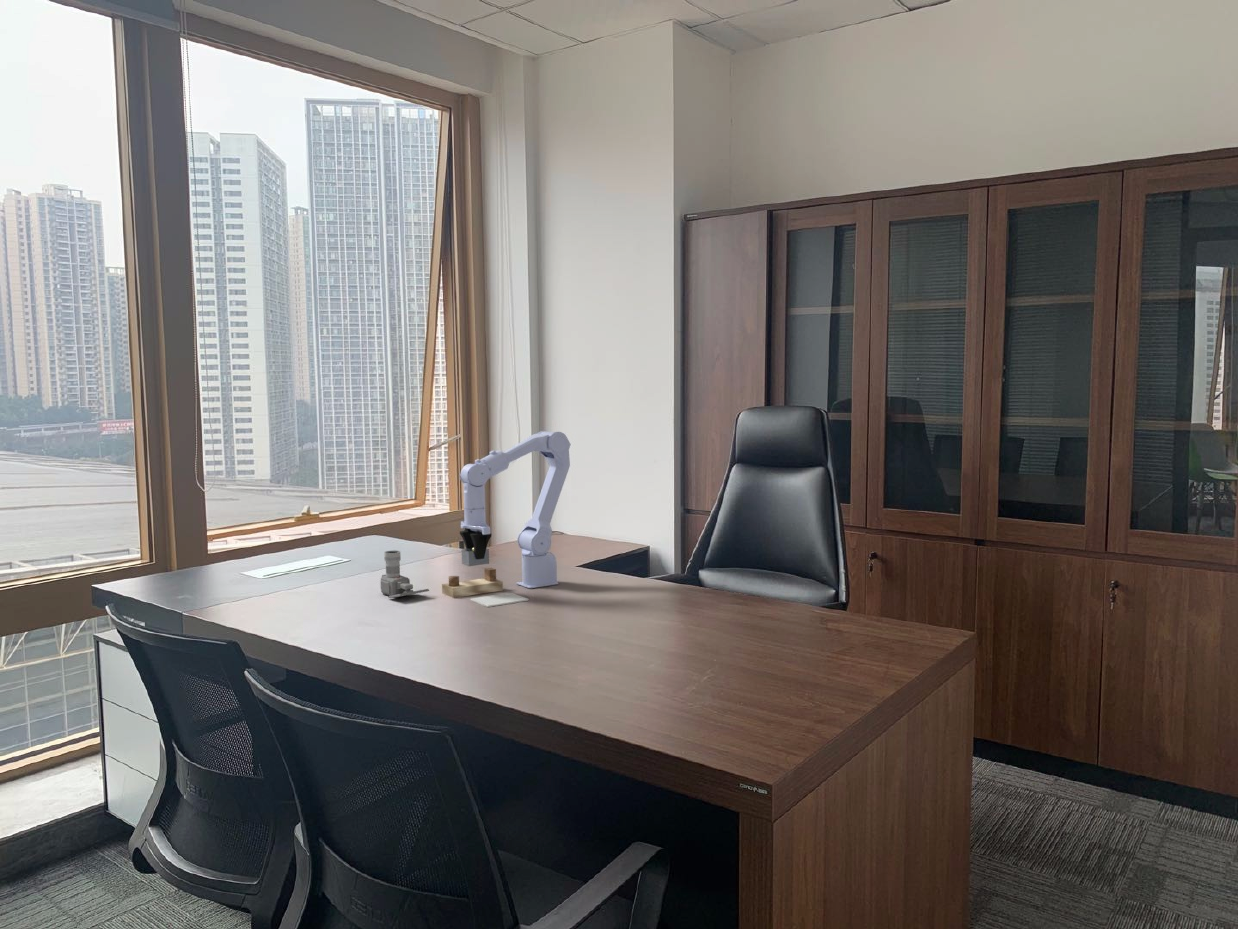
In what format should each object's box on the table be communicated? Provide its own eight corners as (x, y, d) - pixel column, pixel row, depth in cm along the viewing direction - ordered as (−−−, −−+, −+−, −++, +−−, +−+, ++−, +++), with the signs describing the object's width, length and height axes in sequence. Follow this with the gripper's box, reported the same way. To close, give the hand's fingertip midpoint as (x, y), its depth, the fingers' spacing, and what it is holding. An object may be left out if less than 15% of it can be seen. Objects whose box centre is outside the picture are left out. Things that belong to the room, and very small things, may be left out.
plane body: (491, 586, 264) (490, 566, 264) (502, 590, 259) (502, 570, 258) (442, 593, 256) (441, 572, 255) (453, 597, 250) (452, 576, 250)
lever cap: (482, 561, 258) (481, 545, 258) (489, 563, 255) (488, 547, 254) (462, 563, 255) (461, 547, 255) (469, 566, 251) (468, 550, 251)
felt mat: (510, 594, 254) (510, 592, 254) (528, 600, 246) (528, 599, 246) (470, 600, 247) (470, 598, 247) (487, 607, 239) (487, 605, 239)
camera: (400, 548, 260) (428, 555, 249) (401, 589, 262) (429, 599, 250) (372, 552, 255) (399, 560, 244) (373, 594, 256) (400, 604, 245)
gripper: (450, 506, 257) (451, 555, 258) (472, 512, 245) (474, 563, 246) (473, 504, 261) (474, 552, 262) (496, 509, 249) (498, 560, 250)
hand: (476, 557), depth 255 cm, fingers closed on lever cap, 4 cm apart
